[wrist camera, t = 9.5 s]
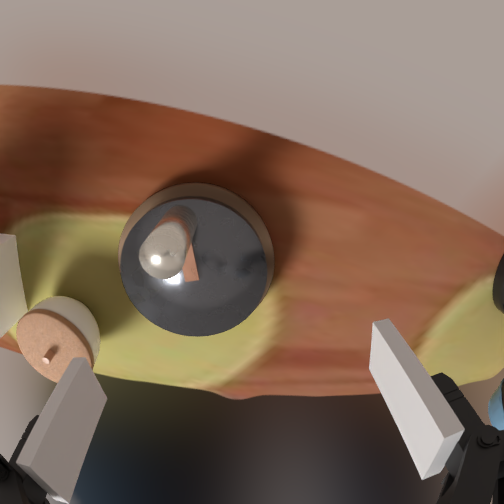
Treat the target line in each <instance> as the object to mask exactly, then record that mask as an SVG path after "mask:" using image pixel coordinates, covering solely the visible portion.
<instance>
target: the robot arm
mask: <svg viewBox="0 0 504 504" xmlns="http://www.w3.org/2000/svg"><path fill="white" fill-rule="evenodd" d="M493 300H494V304H495V306H496V307H497V308H498V309H499V310H500V311H501V312H502V313H504V255H503V257H502V259H501V261H500V264H499V266H498V269H497V272H496V275H495V279H494V284H493ZM369 370H370V372H371V373H372V375H373V377H374V379H375V381H376V383H377V385H378V387H379V389H380V391H381V393H382V395H383V397H384V399H385V401H386V403H387V406H388V407H389V410H390V412H391V414H392V416H393V418H394V420H395V422H396V424H397V426H398V428H399V430H400V433H401V434H402V437H403V439H404V441H405V443H406V445H407V448H408V450H409V452H410V454H411V456H412V458H413V461H414V463H415V465H416V467H417V469H418V472H419V474H420V476H421V479H422V480H423V479H425V478H428V477H430V476H433V475H435V474H438V473H440V472H441V470H442V469H443V467H444V466H445V465H446V467H447V469H448V471H449V472H448V473H447V475H446V477H445V478H444V479H443V481H442V483H441V484H443V487H442V490H441V492H440V495H439V498H438V500H437V503H436V504H490V502H491V498H492V495H493V503H492V504H504V379H503V380H502V381H501V384H500V386H499V387H498V388H497V390H496V391H495V392H494V394H493V395H492V397H491V398H490V401H489V406H488V407H489V408H488V413H489V418H490V421H491V424H492V426H490V425H485V424H484V423H483V422H482V421H481V419H480V418H479V416H478V415H477V413H476V412H475V410H474V409H473V408H472V406H471V405H470V403H469V402H468V400H467V399H466V398H465V397H464V395H463V393H462V392H461V391H460V390H459V388H458V387H457V385H456V384H455V382H454V381H453V380H452V379H451V378H450V377H448V376H447V375H445V374H443V373H439V374H436V375H433V376H430V375H429V374H428V373H427V371H426V370H425V368H424V367H423V365H422V364H421V362H420V361H419V360H418V358H417V357H416V355H415V354H414V353H413V351H412V350H411V348H410V347H409V346H408V344H407V343H406V341H405V340H404V339H403V337H402V336H401V334H400V333H399V332H398V330H397V329H396V328H395V326H394V325H393V324H392V322H391V321H390V320H389V318H388V319H384V320H380V321H375V322H373V329H372V342H371V354H370V365H369ZM106 400H107V397H106V395H105V393H104V392H103V390H102V388H101V386H100V384H99V382H98V380H97V379H96V377H95V375H94V373H93V371H92V369H91V367H90V365H89V363H88V361H87V359H86V357H73V359H72V360H71V362H70V364H69V365H68V367H67V369H66V370H65V372H64V374H63V375H62V377H61V379H60V380H59V382H58V384H57V386H56V387H55V389H54V391H53V392H52V394H51V396H50V398H49V400H48V401H47V403H46V405H45V407H44V409H43V411H42V412H41V414H40V415H37V416H35V417H34V418H33V419H32V420H31V421H30V422H29V424H28V426H27V428H26V430H25V433H23V435H22V439H21V440H20V441H19V443H18V445H17V447H16V449H15V451H14V453H13V455H12V457H11V459H10V461H9V463H8V462H7V461H6V459H5V458H4V457H3V456H2V455H1V454H0V504H50V503H49V501H48V500H47V499H46V495H47V493H48V494H49V495H50V496H51V497H52V498H54V499H55V500H57V501H61V502H65V503H70V500H71V497H72V494H73V490H74V487H75V484H76V481H77V478H78V475H79V473H80V470H81V467H82V464H83V461H84V458H85V455H86V453H87V450H88V447H89V444H90V441H91V439H92V436H93V434H94V431H95V428H96V425H97V423H98V420H99V418H100V415H101V413H102V410H103V408H104V405H105V403H106Z"/></svg>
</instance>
